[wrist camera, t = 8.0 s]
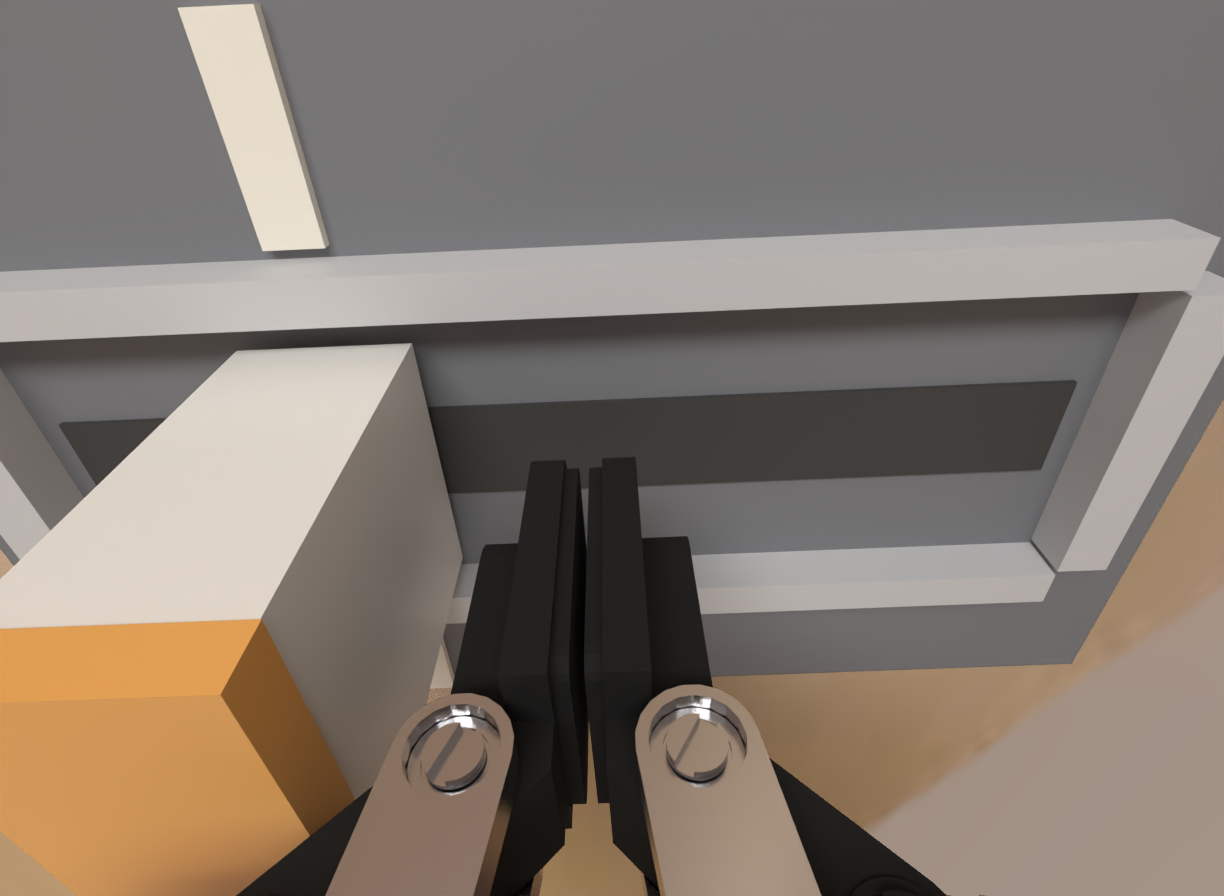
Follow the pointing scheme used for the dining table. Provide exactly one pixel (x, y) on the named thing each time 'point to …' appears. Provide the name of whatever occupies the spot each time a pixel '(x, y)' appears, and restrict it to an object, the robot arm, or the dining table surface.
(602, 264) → the board
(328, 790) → the fader knob
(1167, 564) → the dining table surface
